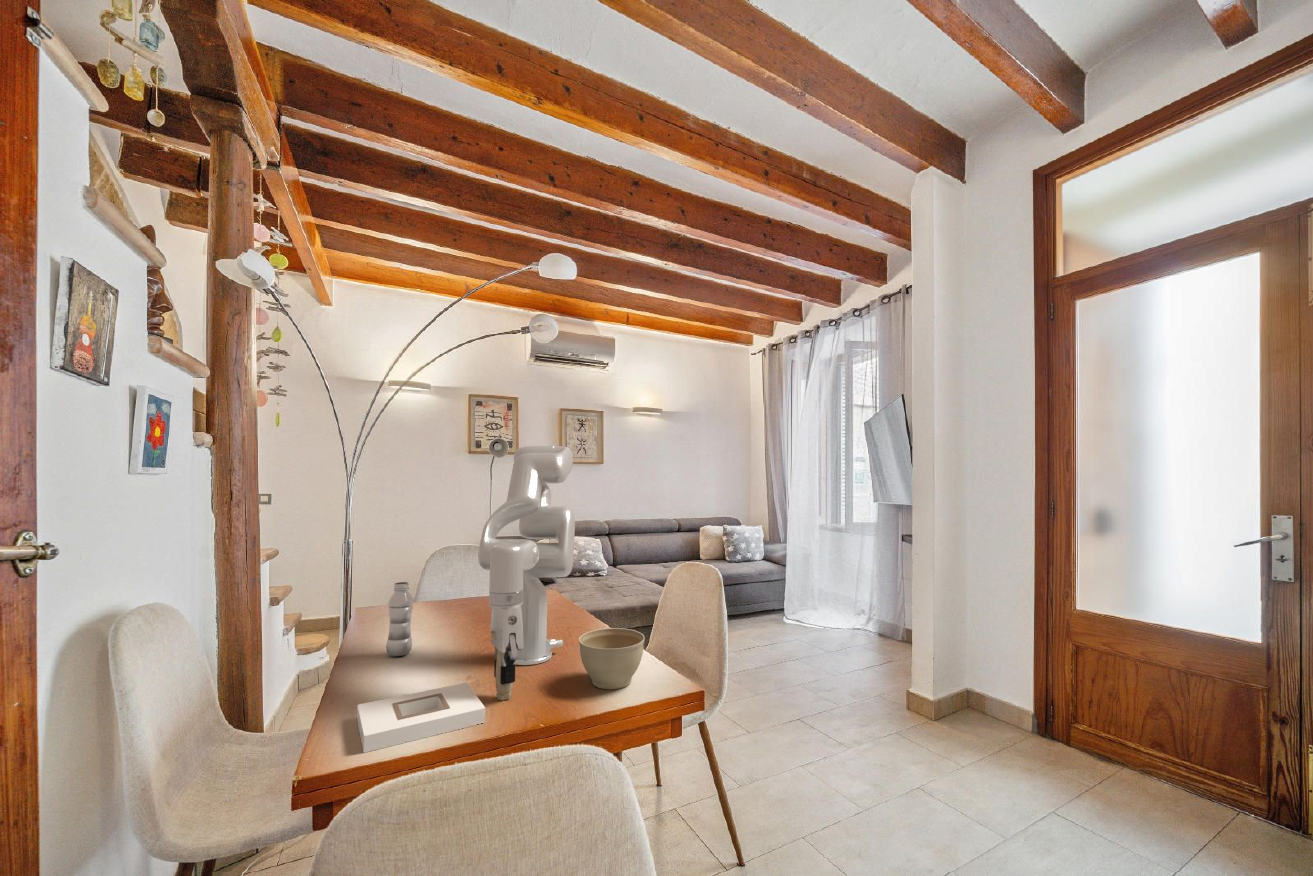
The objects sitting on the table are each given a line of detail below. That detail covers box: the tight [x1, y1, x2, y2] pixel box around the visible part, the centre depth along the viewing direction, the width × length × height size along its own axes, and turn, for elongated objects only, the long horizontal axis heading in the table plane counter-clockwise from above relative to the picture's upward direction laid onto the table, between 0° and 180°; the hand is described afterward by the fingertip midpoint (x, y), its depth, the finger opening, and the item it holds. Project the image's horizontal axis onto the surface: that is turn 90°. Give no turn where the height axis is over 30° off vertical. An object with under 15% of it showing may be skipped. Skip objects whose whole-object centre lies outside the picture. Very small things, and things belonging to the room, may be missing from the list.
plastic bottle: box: [385, 581, 415, 657], centre depth 152 cm, size 6×7×20 cm
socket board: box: [356, 682, 486, 754], centre depth 111 cm, size 22×16×3 cm
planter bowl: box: [578, 627, 645, 690], centre depth 132 cm, size 16×16×11 cm
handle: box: [490, 630, 514, 701], centre depth 123 cm, size 5×6×15 cm
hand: (504, 679), depth 123 cm, fingers closed on handle, 4 cm apart
